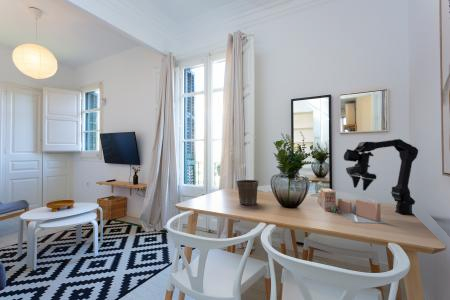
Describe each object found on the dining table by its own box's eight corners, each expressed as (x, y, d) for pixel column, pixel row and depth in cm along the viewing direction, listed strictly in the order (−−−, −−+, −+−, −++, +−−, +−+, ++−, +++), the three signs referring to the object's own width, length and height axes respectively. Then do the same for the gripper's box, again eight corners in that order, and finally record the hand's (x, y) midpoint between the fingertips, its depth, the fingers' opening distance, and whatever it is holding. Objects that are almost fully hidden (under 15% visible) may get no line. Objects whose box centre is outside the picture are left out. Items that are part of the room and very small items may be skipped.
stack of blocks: (317, 203, 155) (317, 185, 155) (326, 203, 154) (326, 186, 154) (325, 211, 134) (324, 191, 134) (336, 211, 133) (335, 191, 133)
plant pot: (231, 203, 157) (231, 181, 157) (246, 199, 168) (246, 179, 168) (249, 207, 145) (248, 183, 145) (263, 203, 156) (263, 181, 156)
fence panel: (350, 213, 127) (350, 197, 127) (354, 212, 128) (354, 197, 128) (378, 221, 111) (377, 204, 111) (382, 221, 112) (381, 203, 112)
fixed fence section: (352, 213, 129) (352, 201, 129) (349, 213, 128) (349, 201, 128) (339, 209, 137) (339, 198, 137) (337, 209, 137) (337, 198, 137)
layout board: (361, 210, 135) (361, 209, 135) (386, 223, 111) (386, 222, 111) (336, 209, 137) (336, 209, 137) (354, 222, 112) (354, 222, 112)
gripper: (341, 160, 138) (338, 184, 138) (358, 161, 119) (354, 189, 119) (358, 162, 137) (355, 187, 137) (378, 164, 119) (375, 192, 119)
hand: (359, 188), depth 128 cm, fingers open, 9 cm apart
